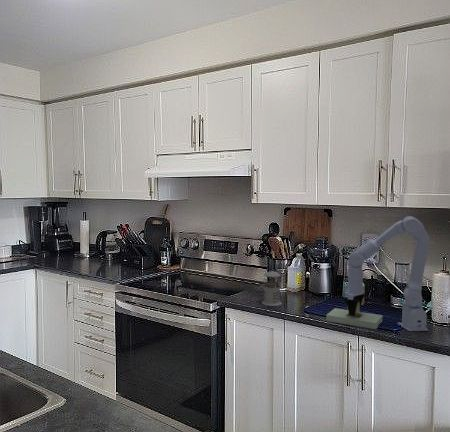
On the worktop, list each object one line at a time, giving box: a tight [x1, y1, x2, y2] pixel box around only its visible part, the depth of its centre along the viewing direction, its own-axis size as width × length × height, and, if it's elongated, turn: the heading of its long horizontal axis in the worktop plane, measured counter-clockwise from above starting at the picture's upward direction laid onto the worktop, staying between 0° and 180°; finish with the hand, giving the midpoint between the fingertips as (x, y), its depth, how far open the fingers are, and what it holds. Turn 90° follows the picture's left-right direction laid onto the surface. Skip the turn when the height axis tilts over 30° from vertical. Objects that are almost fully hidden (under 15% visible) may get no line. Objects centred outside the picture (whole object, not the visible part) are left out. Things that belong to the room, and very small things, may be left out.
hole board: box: [325, 307, 384, 330], centre depth 178 cm, size 20×12×2 cm, turn 59°
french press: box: [261, 251, 282, 307], centre depth 206 cm, size 10×12×25 cm
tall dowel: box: [349, 302, 361, 318], centre depth 178 cm, size 4×4×8 cm
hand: (354, 313), depth 178 cm, fingers open, 7 cm apart
